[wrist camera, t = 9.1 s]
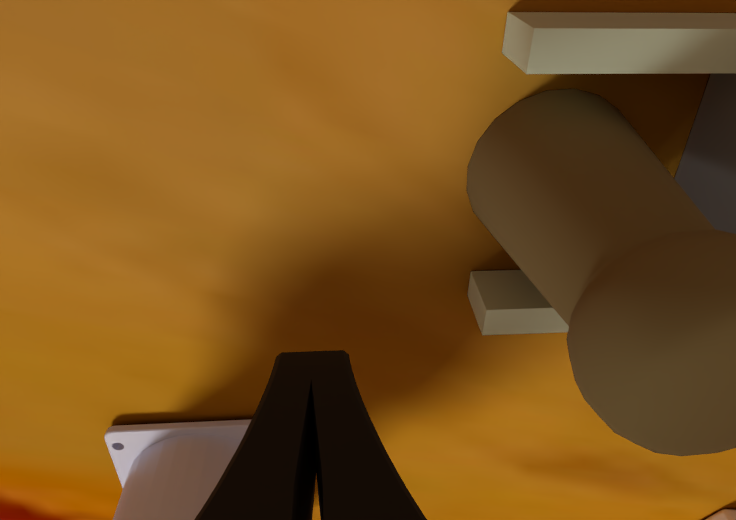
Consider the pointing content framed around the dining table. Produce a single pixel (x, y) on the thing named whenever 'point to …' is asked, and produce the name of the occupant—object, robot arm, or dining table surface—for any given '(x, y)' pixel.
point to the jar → (723, 515)
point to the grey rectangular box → (624, 56)
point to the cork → (617, 267)
